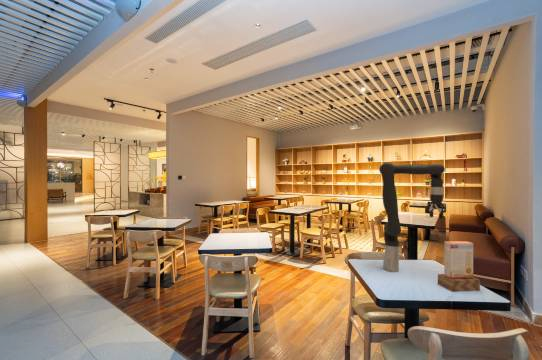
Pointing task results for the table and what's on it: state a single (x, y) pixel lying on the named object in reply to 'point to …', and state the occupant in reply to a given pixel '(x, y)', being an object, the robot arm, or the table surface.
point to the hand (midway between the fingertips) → (436, 217)
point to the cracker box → (458, 259)
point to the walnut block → (458, 283)
